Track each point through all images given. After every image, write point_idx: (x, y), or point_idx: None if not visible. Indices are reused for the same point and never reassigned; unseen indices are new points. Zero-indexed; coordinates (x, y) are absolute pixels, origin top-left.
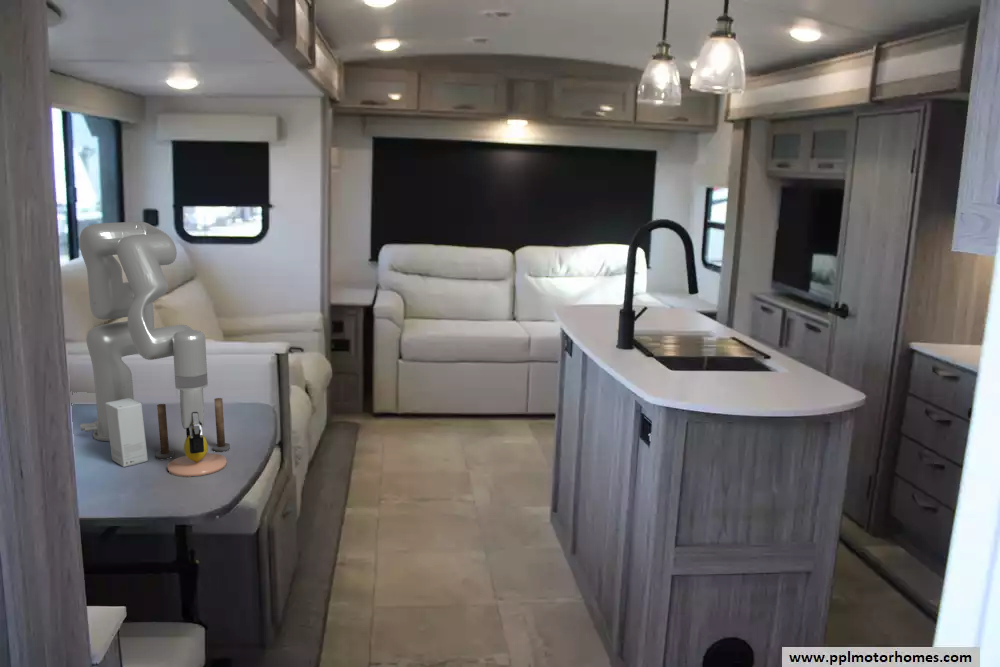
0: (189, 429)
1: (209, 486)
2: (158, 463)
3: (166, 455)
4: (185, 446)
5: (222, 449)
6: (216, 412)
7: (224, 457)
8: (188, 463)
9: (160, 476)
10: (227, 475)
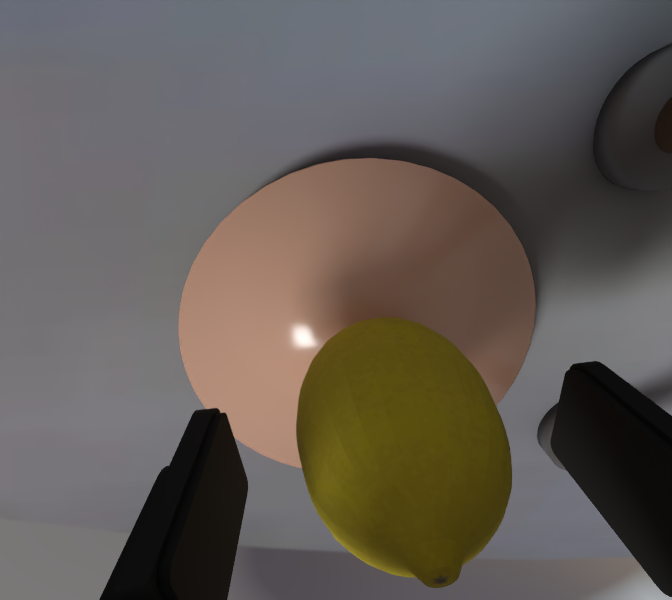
0: (668, 485)
1: (25, 406)
2: (532, 73)
3: (616, 136)
4: (358, 373)
5: (545, 441)
6: None
7: None
8: (369, 300)
9: (232, 107)
10: None
